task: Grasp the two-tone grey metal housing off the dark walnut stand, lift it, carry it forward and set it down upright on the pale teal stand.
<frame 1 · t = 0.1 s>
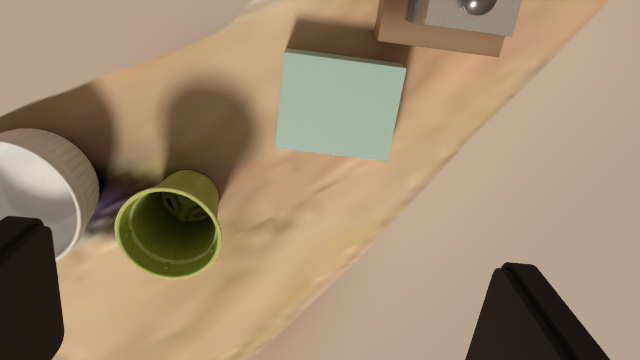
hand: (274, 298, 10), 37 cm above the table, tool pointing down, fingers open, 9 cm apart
ramekin: (47, 178, 48), on the table
plant pot: (191, 194, 49), on the table
stand teal: (336, 101, 45), on the table
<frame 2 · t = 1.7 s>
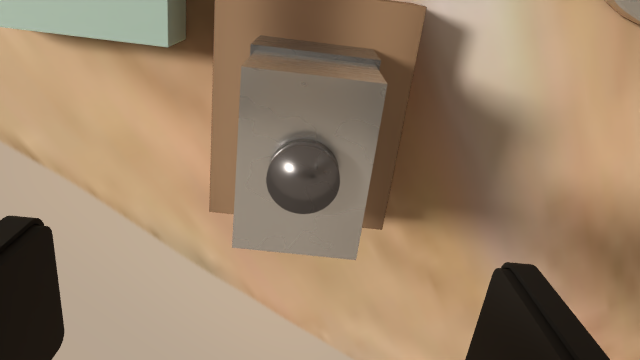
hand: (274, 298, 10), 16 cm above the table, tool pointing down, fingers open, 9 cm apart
stand walnut: (309, 102, 24), on the table
housing: (308, 118, 22), point 3 cm above the table, touching stand walnut
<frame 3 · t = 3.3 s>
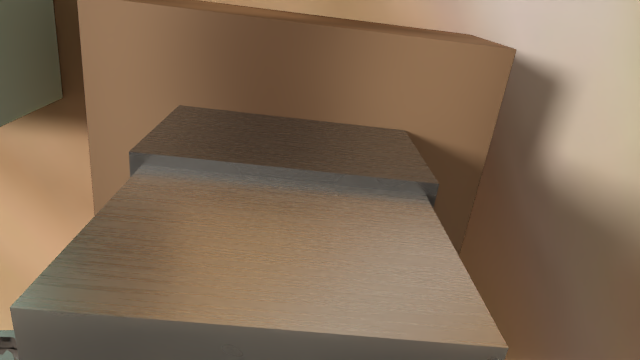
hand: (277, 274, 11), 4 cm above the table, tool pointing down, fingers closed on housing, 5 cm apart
stand walnut: (286, 200, 14), on the table
housing: (280, 252, 11), point 3 cm above the table, touching gripper, stand walnut
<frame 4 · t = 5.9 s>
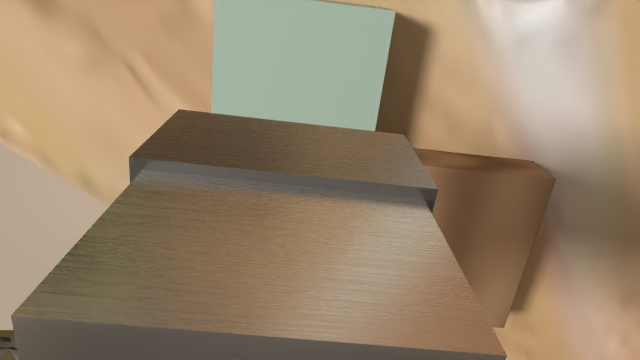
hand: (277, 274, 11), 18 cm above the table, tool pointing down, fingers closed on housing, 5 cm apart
stand walnut: (445, 229, 31), on the table
housing: (279, 256, 12), point 18 cm above the table, touching gripper
stand teal: (296, 95, 28), on the table
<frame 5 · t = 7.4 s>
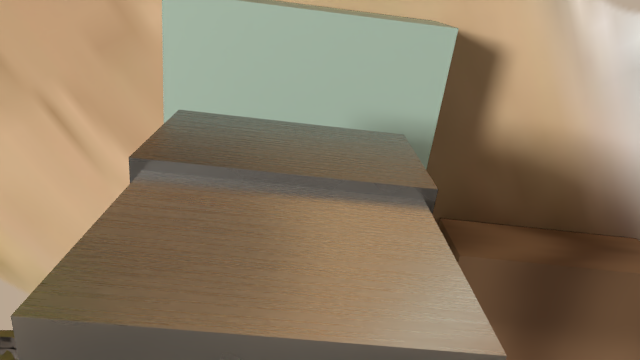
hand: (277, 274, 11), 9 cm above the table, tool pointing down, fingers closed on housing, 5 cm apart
stand walnut: (505, 326, 22), on the table
housing: (279, 256, 12), point 8 cm above the table, touching gripper
stand teal: (298, 148, 19), on the table
when the fingers open (5 cm above the table, at t = 8.5 s): housing drops 1 cm, resting on stand teal.
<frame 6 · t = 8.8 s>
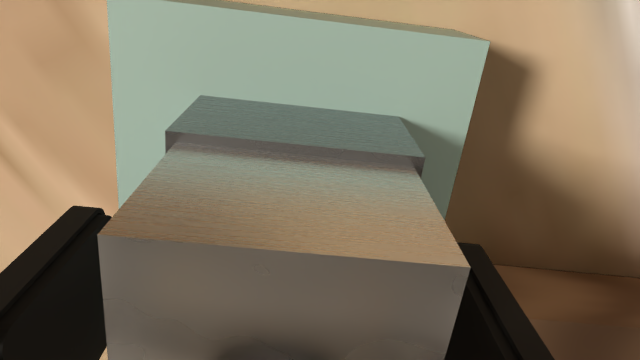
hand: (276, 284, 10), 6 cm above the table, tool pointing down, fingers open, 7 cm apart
housing: (288, 227, 13), point 3 cm above the table, touching stand teal
stand teal: (287, 181, 16), on the table
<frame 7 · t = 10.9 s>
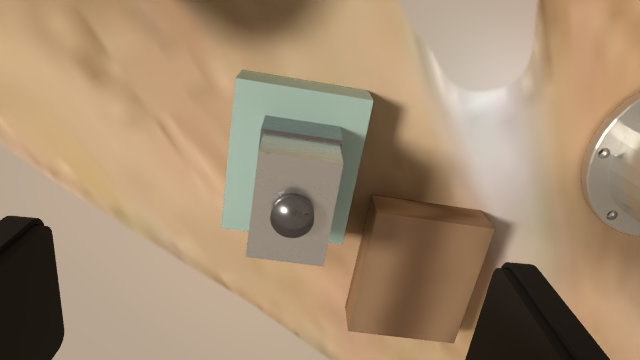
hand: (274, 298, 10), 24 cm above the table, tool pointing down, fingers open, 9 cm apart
stand walnut: (410, 261, 39), on the table
housing: (295, 169, 32), point 3 cm above the table, touching stand teal
stand teal: (294, 152, 34), on the table
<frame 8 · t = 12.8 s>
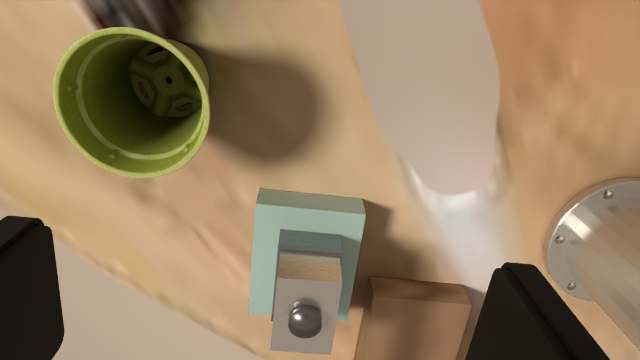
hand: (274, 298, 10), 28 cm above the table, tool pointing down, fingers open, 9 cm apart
stand walnut: (405, 326, 46), on the table
plant pot: (172, 79, 36), on the table
housing: (305, 267, 39), point 3 cm above the table, touching stand teal
stand teal: (304, 247, 42), on the table
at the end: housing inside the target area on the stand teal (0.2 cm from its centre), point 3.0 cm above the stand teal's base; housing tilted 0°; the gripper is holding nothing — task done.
